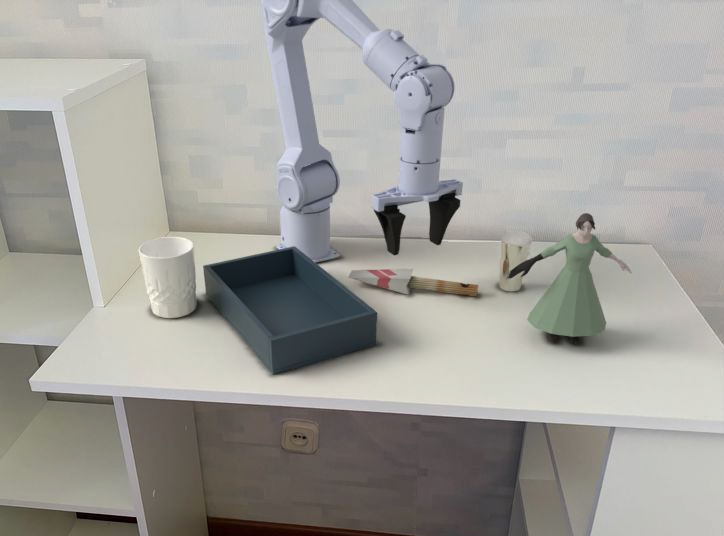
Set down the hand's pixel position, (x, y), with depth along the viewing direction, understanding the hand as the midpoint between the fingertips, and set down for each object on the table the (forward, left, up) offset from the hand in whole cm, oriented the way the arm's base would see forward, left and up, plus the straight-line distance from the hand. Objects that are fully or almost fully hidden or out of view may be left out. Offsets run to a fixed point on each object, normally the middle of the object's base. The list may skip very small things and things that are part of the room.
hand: (414, 247), depth 107 cm
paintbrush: (0, 0, -8) cm, 8 cm away
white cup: (-12, -35, -8) cm, 38 cm away
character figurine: (+22, +9, -8) cm, 25 cm away
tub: (-1, -21, -7) cm, 22 cm away
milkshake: (+7, +14, -8) cm, 17 cm away
